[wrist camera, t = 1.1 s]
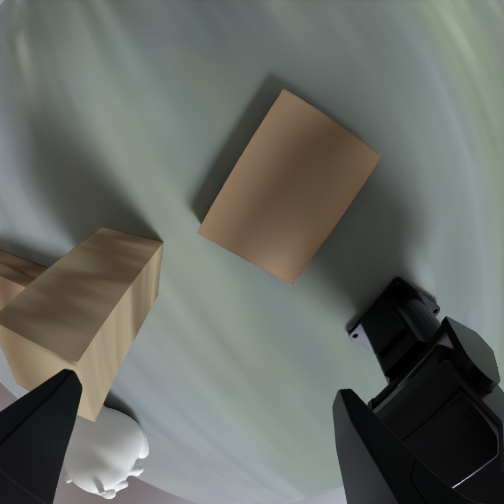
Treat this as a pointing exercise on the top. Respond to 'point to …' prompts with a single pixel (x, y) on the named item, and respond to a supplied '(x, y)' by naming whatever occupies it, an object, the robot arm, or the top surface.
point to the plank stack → (15, 276)
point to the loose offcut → (288, 188)
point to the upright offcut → (83, 314)
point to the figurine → (105, 452)
